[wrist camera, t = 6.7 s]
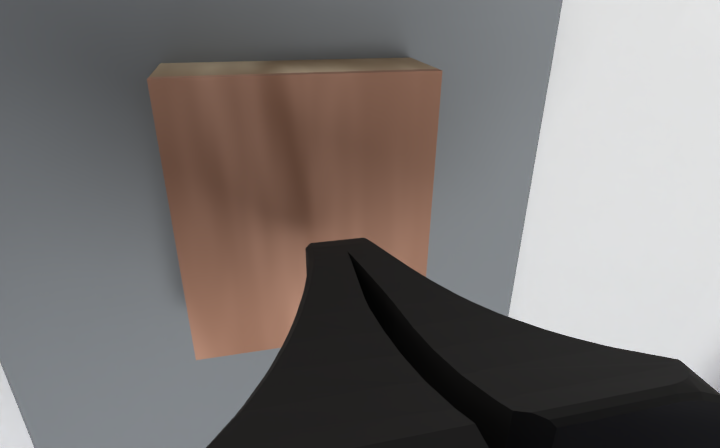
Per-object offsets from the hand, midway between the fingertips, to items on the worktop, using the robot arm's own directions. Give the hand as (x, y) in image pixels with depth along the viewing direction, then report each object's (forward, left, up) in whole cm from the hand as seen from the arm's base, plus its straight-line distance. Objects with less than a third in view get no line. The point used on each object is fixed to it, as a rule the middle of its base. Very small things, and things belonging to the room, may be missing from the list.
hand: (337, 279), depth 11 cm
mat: (-1, -2, -6) cm, 6 cm away
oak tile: (-4, 0, -4) cm, 6 cm away
